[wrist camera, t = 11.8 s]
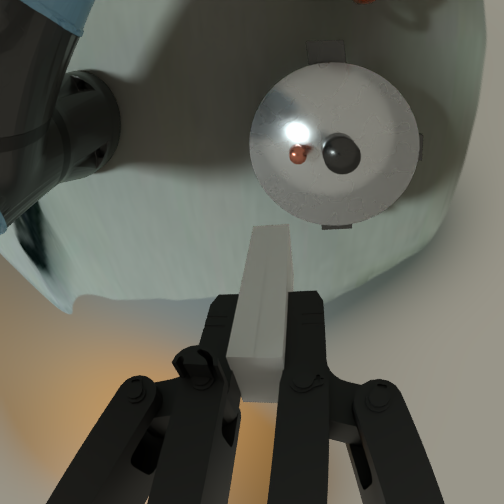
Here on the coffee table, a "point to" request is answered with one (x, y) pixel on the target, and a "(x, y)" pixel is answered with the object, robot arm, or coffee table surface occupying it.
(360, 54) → the coffee table surface
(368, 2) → the mug
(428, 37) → the coffee table surface
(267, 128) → the lid
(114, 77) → the coffee table surface
